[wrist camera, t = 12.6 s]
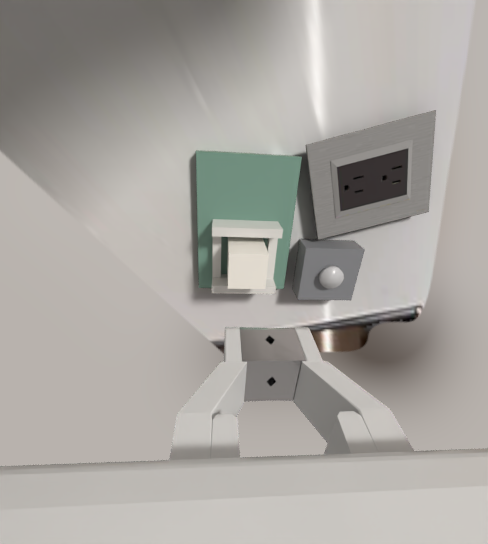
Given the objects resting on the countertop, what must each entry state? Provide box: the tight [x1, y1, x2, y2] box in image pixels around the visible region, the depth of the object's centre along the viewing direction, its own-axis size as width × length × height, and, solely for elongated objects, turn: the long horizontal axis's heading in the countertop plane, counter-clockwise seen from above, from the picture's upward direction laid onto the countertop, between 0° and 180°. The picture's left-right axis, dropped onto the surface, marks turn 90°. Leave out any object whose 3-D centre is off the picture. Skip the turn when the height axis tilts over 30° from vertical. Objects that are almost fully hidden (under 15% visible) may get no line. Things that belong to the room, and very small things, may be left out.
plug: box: [227, 237, 269, 289], centre depth 31 cm, size 5×4×5 cm
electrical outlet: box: [306, 110, 436, 240], centre depth 31 cm, size 13×10×2 cm
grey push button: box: [292, 239, 364, 300], centre depth 34 cm, size 7×7×4 cm
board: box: [196, 150, 302, 294], centre depth 31 cm, size 16×11×4 cm
